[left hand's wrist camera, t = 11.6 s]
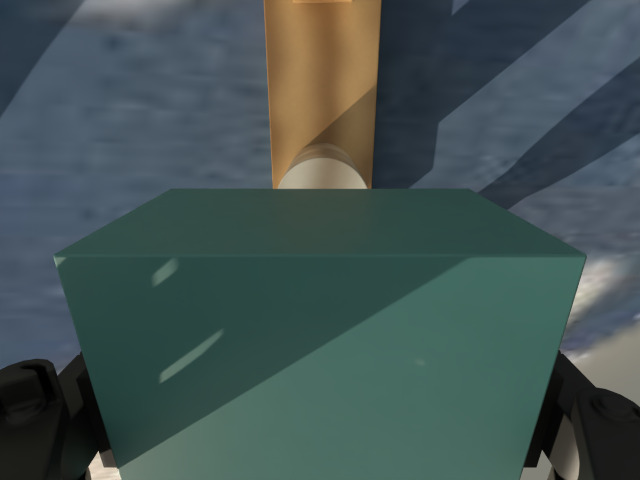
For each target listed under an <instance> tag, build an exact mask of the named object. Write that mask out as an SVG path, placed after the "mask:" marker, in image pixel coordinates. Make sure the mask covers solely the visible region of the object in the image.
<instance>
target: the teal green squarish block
mask: <svg viewBox="0 0 640 480" xmlns="http://www.w3.org/2000/svg"><path fill="white" fill-rule="evenodd" d="M586 258H587V256H586V254H584V253H582V252H581V251H579V250H577V249H575V248H574V247H572V246H570V245H568V244H566V243H565V242H563V241H561V240H559V239H558V238H556V237H554V236H552V235H550V234H549V233H547V232H545V231H543V230H541V229H540V228H538V227H536V226H534V225H533V224H531V223H529V222H527V221H525V220H524V219H522V218H520V217H518V216H516V215H515V214H513V213H511V212H509V211H508V210H506V209H504V208H502V207H500V206H499V205H497V204H495V203H493V202H491V201H490V200H488V199H486V198H484V197H483V196H481V195H479V194H477V193H475V192H474V191H472V190H470V189H170V190H168V191H167V192H165V193H163V194H161V195H159V196H158V197H156V198H154V199H152V200H151V201H149V202H147V203H145V204H143V205H142V206H140V207H138V208H136V209H134V210H133V211H131V212H129V213H127V214H126V215H124V216H122V217H120V218H118V219H117V220H115V221H113V222H111V223H110V224H108V225H106V226H104V227H102V228H101V229H99V230H97V231H95V232H93V233H92V234H90V235H88V236H86V237H85V238H83V239H81V240H79V241H77V242H76V243H74V244H72V245H70V246H69V247H67V248H65V249H63V250H61V251H60V252H58V253H56V254H55V255H54V260H55V264H56V267H57V270H58V274H59V277H60V280H61V284H62V287H63V290H64V294H65V297H66V300H67V304H68V307H69V310H70V314H71V317H72V320H73V324H74V327H75V330H76V334H77V337H78V340H79V344H80V347H81V350H82V354H83V357H84V360H85V363H86V367H87V370H88V373H89V377H90V380H91V383H92V387H93V390H94V393H95V397H96V400H97V403H98V407H99V410H100V413H101V417H102V420H103V423H104V427H105V430H106V433H107V437H108V440H109V443H110V447H111V450H112V453H113V456H114V460H115V463H116V466H117V470H118V473H119V476H120V480H520V477H521V474H522V471H523V467H524V464H525V461H526V457H527V454H528V451H529V447H530V444H531V441H532V437H533V434H534V431H535V427H536V424H537V421H538V417H539V414H540V411H541V407H542V404H543V401H544V398H545V394H546V391H547V388H548V384H549V381H550V378H551V374H552V371H553V368H554V364H555V361H556V358H557V354H558V351H559V348H560V344H561V341H562V338H563V334H564V331H565V328H566V324H567V321H568V318H569V315H570V311H571V308H572V305H573V301H574V298H575V295H576V291H577V288H578V285H579V281H580V278H581V275H582V271H583V268H584V265H585V261H586Z"/></svg>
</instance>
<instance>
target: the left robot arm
mask: <svg viewBox="0 0 640 480" xmlns="http://www.w3.org/2000/svg"><path fill="white" fill-rule="evenodd" d="M542 450H543V452H544V453H545V455H546V456H547V458H548V459H549V461H550V462H551V464H552V468H551V471H550V474H549V476H548V479H547V480H640V407H639V406H638V405H637V404H635V403H634V402H633V401H631V400H629V399H627V398H625V397H624V396H622V395H620V394H617V393H615V392H612V391H609V390H607V389H602V388H596V387H595V386H594V385H593V384H592V383H591V382H590V381H589V380H588V379H587V378H586V377H585V376H584V375H583V374H582V373H581V372H580V371H579V370H578V369H577V368H576V367H575V366H574V365H573V364H572V363H571V361H570V360H569V359H568V358H567V357H566V356H565V355H564V354H561V352H560V350H559V351H558V354H557V358H556V361H555V364H554V368H553V371H552V374H551V378H550V381H549V384H548V388H547V391H546V394H545V398H544V401H543V404H542V407H541V411H540V414H539V417H538V421H537V424H536V427H535V431H534V434H533V437H532V441H531V444H530V447H529V451H528V454H527V457H526V461H525V464H524V467H537V464H538V461H539V457H540V454H541V451H542ZM98 451H99V453H100V457H101V460H102V463H103V466H104V467H117V466H116V463H115V460H114V456H113V453H112V450H111V447H110V443H109V440H108V437H107V433H106V430H105V427H104V423H103V420H102V417H101V413H100V410H99V407H98V403H97V400H96V397H95V393H94V390H93V387H92V383H91V380H90V377H89V373H88V370H87V367H86V363H85V360H84V357H83V354H82V351H81V352H80V355H77V356H76V357H75V358H74V359H73V360H72V361H71V362H70V363H69V364H68V365H67V367H66V368H65V369H64V370H63V371H62V372H61V373H60V374H59V375H58V376H57V374H56V371H55V368H54V365H53V363H51V362H50V361H48V360H45V359H32V360H26V361H21V362H18V363H15V364H12V365H9V366H7V367H5V368H3V369H1V370H0V480H91V475H90V471H89V468H88V466H89V465H90V463H91V462H92V460H93V458H94V457H95V455H96V454H97V452H98Z"/></svg>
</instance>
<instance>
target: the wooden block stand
mask: <svg viewBox="0 0 640 480" xmlns="http://www.w3.org/2000/svg"><path fill="white" fill-rule="evenodd" d="M381 4H382V0H264V14H265V34H266V55H267V75H268V95H269V116H270V136H271V157H272V177H273V189H372V171H373V152H374V134H375V115H376V97H377V78H378V59H379V41H380V22H381Z"/></svg>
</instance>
